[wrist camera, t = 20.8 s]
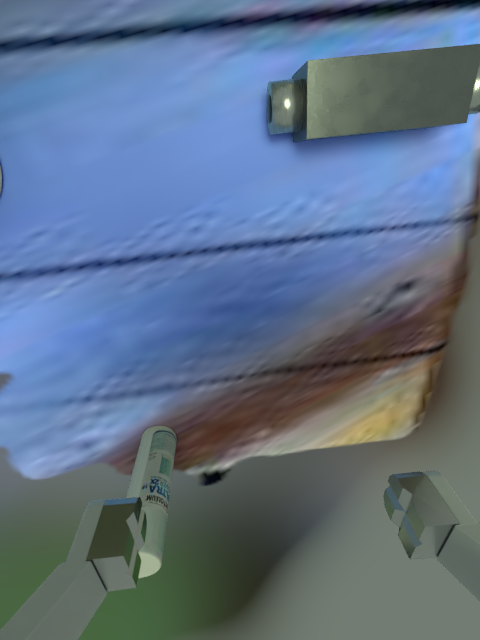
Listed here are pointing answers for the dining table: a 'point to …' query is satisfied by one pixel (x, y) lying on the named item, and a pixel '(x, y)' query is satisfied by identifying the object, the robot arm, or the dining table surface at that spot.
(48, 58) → the dining table surface
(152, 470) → the spray can
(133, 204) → the dining table surface
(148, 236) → the dining table surface
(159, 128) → the dining table surface
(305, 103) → the motor housing
